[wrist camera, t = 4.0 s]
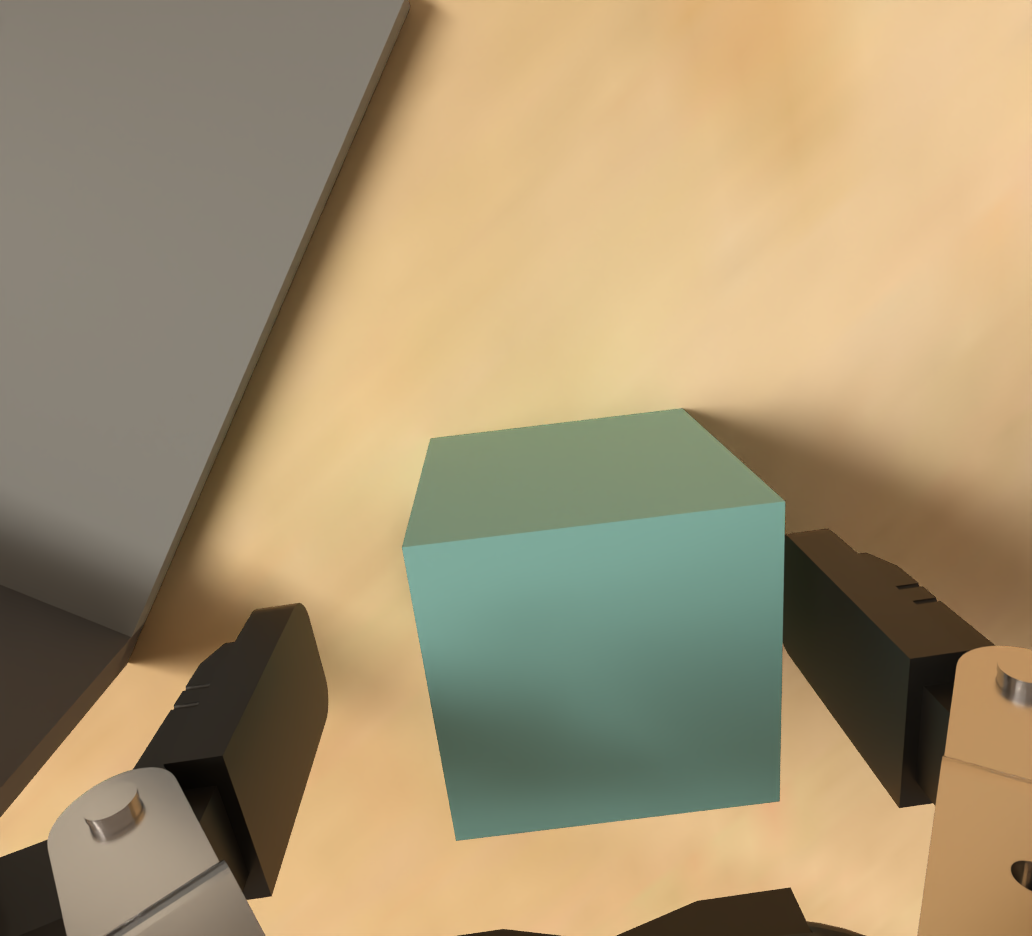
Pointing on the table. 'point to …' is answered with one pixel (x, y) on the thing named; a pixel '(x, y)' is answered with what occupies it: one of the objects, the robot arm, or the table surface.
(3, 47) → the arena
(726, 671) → the cube
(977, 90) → the table surface
